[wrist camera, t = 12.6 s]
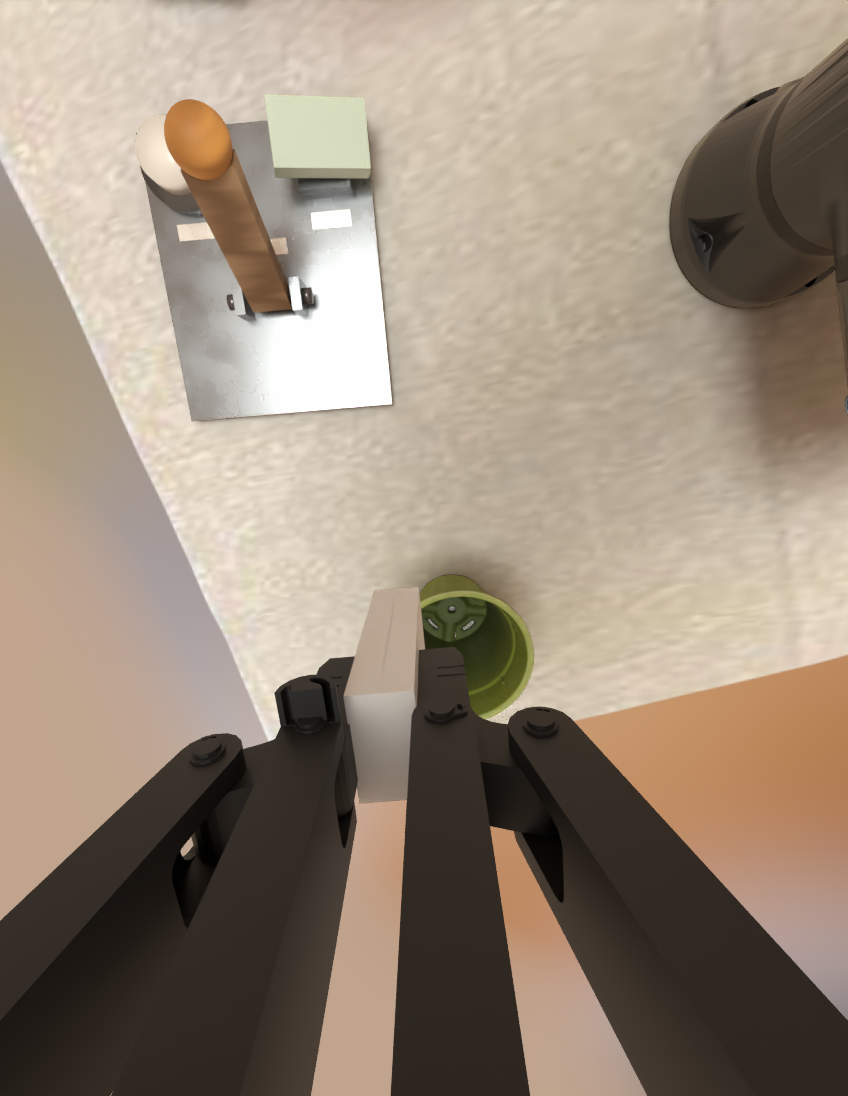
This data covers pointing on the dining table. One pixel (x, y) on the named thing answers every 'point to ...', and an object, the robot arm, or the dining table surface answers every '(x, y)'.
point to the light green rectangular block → (318, 136)
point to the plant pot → (479, 640)
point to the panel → (315, 287)
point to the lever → (226, 202)
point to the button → (159, 157)
